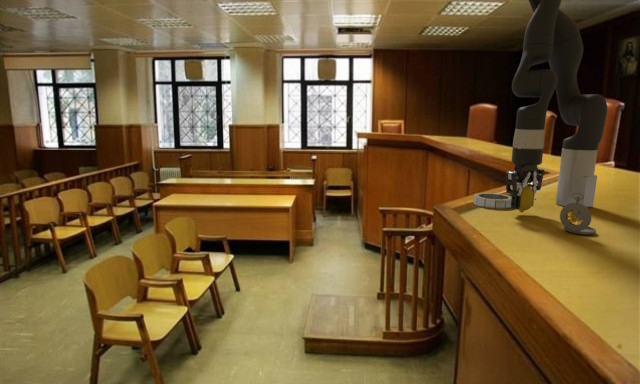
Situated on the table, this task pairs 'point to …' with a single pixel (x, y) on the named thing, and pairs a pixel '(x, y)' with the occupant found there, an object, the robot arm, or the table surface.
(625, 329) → the table surface
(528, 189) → the lemon
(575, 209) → the pocket watch
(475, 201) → the grey stone ring
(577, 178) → the robot arm
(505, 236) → the table surface
